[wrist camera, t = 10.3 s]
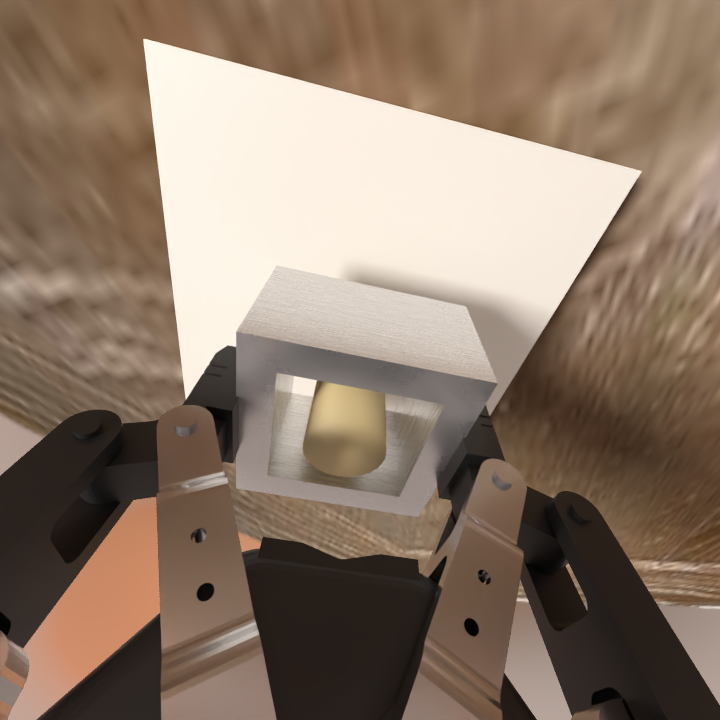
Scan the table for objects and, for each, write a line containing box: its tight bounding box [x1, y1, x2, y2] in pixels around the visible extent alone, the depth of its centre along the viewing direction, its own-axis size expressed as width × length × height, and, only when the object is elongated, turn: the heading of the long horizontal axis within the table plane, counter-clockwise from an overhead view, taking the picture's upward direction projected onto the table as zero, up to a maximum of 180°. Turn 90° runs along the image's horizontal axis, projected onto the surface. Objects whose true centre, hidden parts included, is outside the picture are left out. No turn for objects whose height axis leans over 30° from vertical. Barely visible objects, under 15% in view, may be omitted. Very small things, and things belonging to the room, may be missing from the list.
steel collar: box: [236, 265, 498, 517], centre depth 12 cm, size 6×6×4 cm
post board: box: [143, 39, 642, 477], centre depth 13 cm, size 16×16×8 cm
